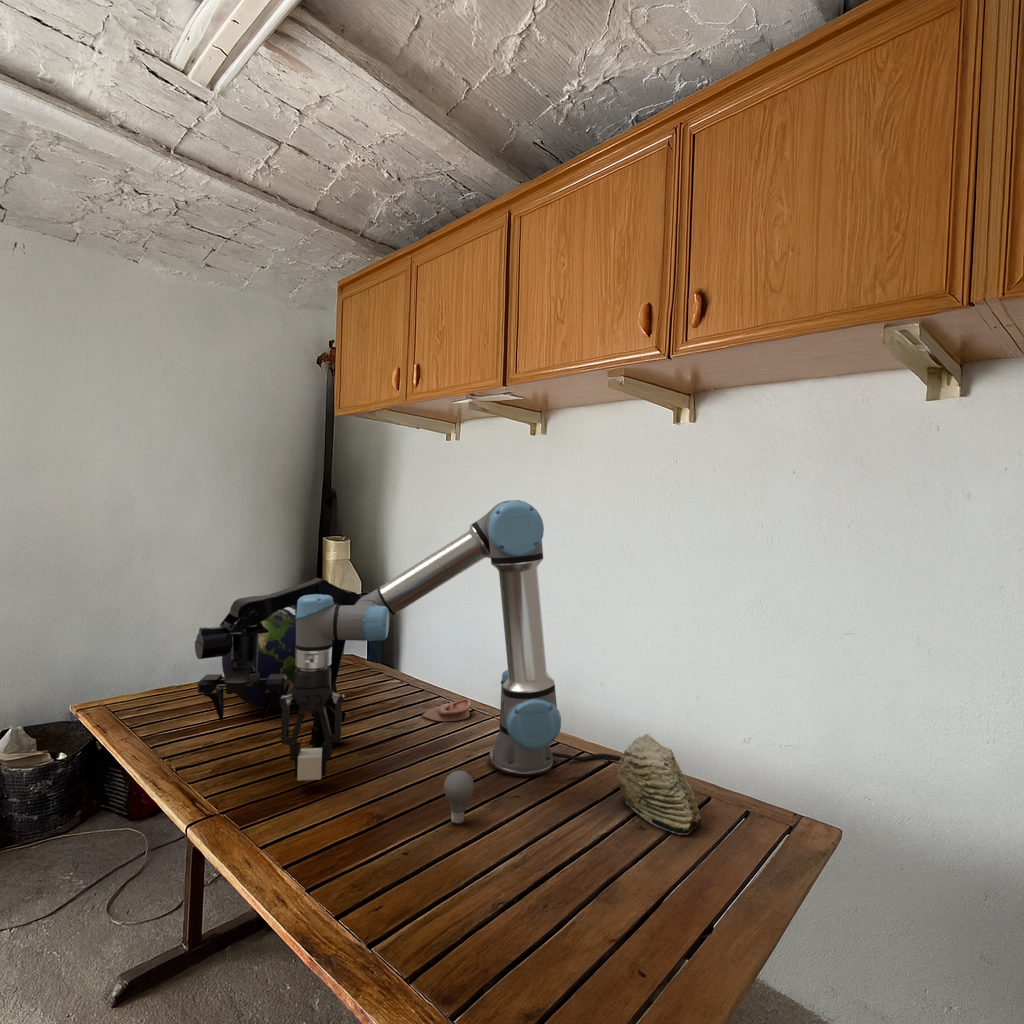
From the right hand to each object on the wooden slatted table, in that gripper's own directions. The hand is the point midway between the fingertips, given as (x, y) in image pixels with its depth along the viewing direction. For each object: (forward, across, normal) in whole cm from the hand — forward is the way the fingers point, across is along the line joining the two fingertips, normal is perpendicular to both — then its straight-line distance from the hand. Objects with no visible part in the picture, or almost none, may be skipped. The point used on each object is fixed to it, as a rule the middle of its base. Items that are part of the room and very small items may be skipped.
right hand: (310, 773), depth 137 cm
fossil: (+4, +71, -19) cm, 74 cm away
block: (0, 0, 0) cm, 0 cm away
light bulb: (+4, +30, -18) cm, 35 cm away
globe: (+3, -16, +55) cm, 58 cm away
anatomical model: (+4, +34, +44) cm, 55 cm away
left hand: (-7, -17, +14) cm, 23 cm away
